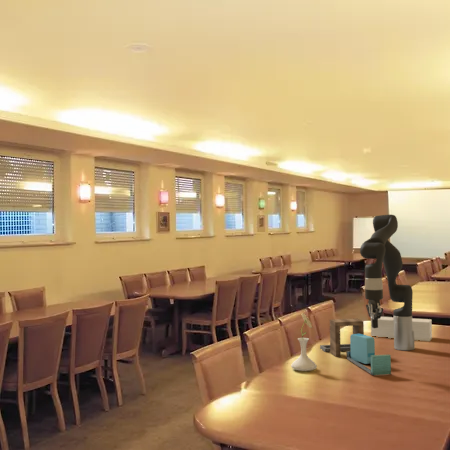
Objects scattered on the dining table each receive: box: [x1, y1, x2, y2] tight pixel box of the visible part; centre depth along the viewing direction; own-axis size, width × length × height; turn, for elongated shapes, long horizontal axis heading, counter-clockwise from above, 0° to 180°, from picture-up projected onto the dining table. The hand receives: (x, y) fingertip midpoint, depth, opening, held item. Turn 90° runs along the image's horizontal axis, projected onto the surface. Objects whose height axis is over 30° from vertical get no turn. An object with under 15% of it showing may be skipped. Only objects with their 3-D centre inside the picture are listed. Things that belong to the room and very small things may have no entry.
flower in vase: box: [290, 312, 318, 372], centre depth 228 cm, size 13×11×25 cm
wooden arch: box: [329, 318, 365, 358], centre depth 255 cm, size 15×8×17 cm, turn 98°
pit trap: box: [319, 343, 351, 353], centre depth 266 cm, size 18×8×2 cm, turn 98°
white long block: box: [370, 316, 433, 342], centre depth 294 cm, size 32×11×11 cm, turn 63°
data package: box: [349, 333, 376, 365], centre depth 238 cm, size 12×4×12 cm, turn 25°
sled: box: [345, 351, 392, 376], centre depth 230 cm, size 8×30×8 cm, turn 8°
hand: (374, 327), depth 223 cm, fingers closed
